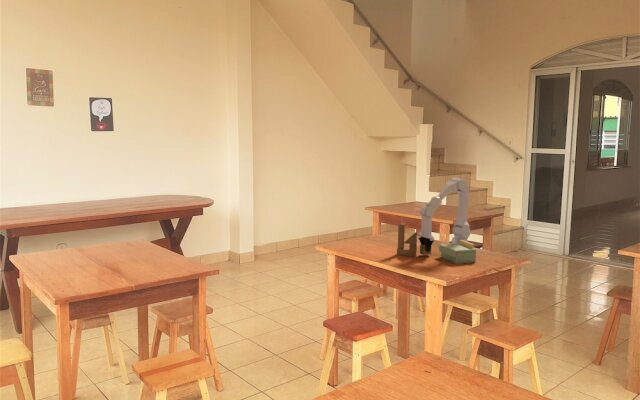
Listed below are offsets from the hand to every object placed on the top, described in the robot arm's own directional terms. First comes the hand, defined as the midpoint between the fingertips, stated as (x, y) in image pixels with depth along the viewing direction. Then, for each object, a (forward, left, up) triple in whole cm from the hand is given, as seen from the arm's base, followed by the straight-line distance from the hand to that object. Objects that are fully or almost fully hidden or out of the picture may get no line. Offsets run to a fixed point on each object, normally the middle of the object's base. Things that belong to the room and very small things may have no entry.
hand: (425, 250), depth 303 cm
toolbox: (+13, +13, -3) cm, 19 cm away
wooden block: (-4, -10, -3) cm, 11 cm away
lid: (+13, +12, +1) cm, 18 cm away
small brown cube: (0, 0, -2) cm, 2 cm away
